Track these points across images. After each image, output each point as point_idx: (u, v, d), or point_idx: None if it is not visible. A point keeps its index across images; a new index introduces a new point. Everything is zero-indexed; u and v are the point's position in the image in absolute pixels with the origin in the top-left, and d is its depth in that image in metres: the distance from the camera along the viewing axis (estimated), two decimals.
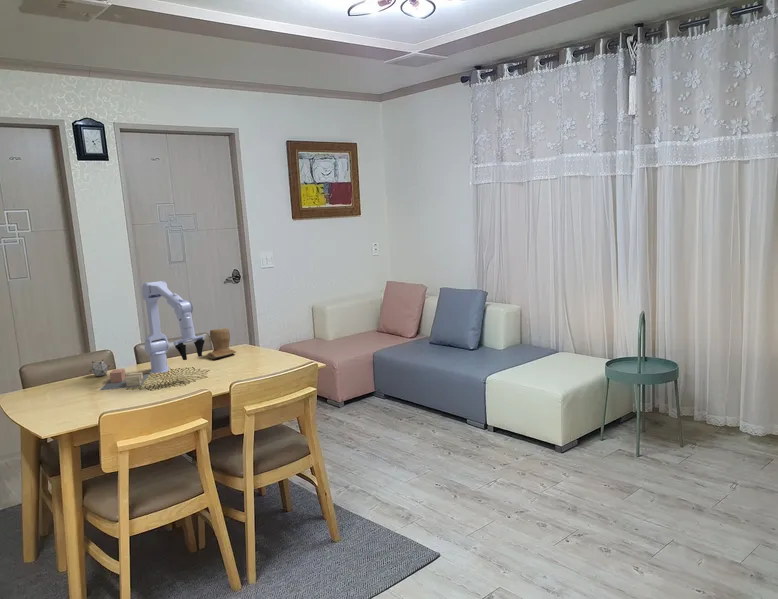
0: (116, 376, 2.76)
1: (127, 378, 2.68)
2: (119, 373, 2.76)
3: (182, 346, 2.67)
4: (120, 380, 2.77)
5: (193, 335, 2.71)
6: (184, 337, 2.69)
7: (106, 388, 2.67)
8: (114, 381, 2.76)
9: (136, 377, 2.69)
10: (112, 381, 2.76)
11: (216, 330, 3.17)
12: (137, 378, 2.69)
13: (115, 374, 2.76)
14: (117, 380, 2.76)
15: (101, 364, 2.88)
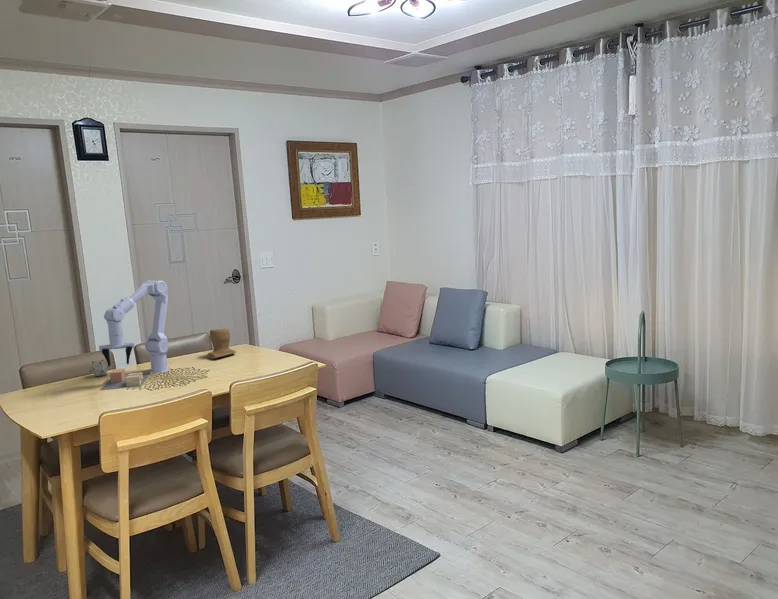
0: (116, 376, 2.76)
1: (127, 378, 2.68)
2: (119, 373, 2.76)
3: (103, 353, 2.70)
4: (120, 380, 2.77)
5: (117, 343, 2.71)
6: (110, 344, 2.72)
7: (106, 388, 2.67)
8: (114, 381, 2.76)
9: (136, 377, 2.69)
10: (112, 381, 2.76)
11: (216, 330, 3.17)
12: (137, 378, 2.69)
13: (115, 374, 2.76)
14: (117, 380, 2.76)
15: (101, 364, 2.88)
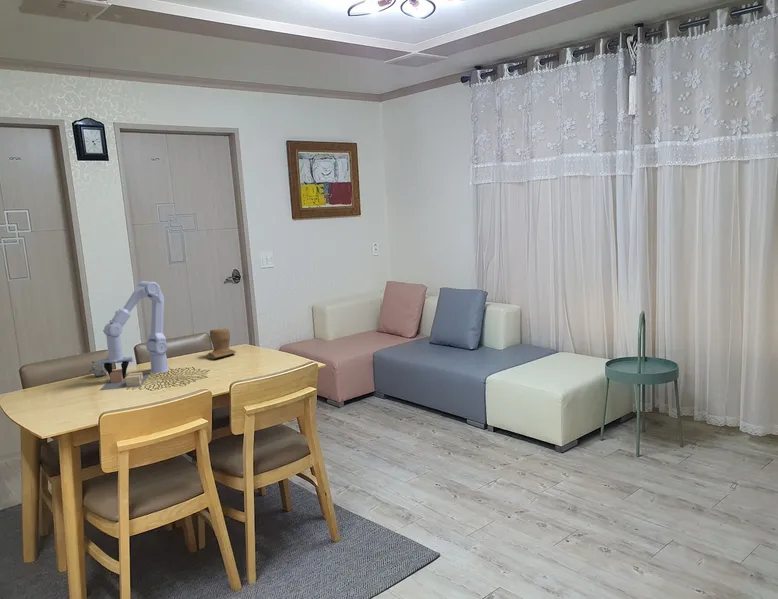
0: (116, 376, 2.76)
1: (127, 378, 2.68)
2: (119, 373, 2.76)
3: (105, 367, 2.76)
4: (120, 380, 2.77)
5: (116, 358, 2.76)
6: (109, 358, 2.77)
7: (106, 388, 2.67)
8: (114, 381, 2.76)
9: (136, 377, 2.69)
10: (112, 381, 2.76)
11: (216, 330, 3.17)
12: (137, 378, 2.69)
13: (115, 374, 2.76)
14: (117, 380, 2.76)
15: None
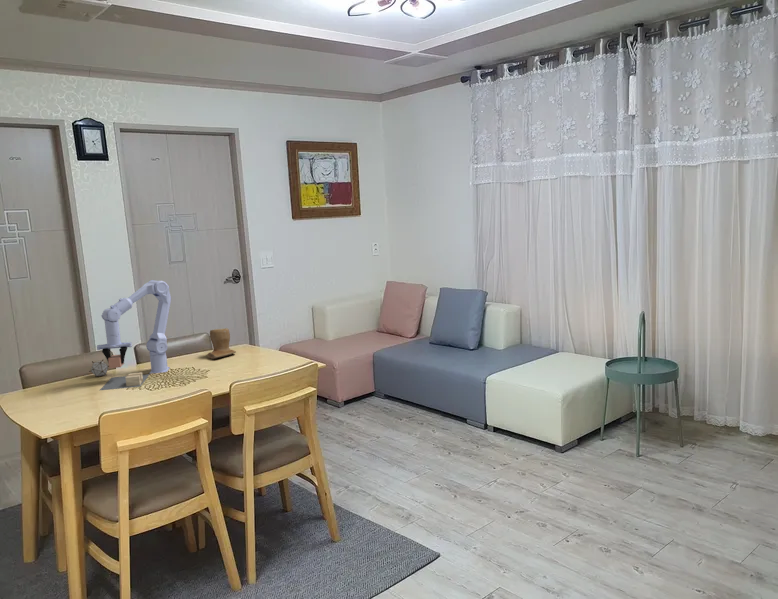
0: (114, 361, 2.75)
1: (127, 378, 2.68)
2: (117, 358, 2.75)
3: (103, 352, 2.75)
4: (118, 365, 2.76)
5: (114, 343, 2.75)
6: (107, 343, 2.76)
7: (106, 388, 2.67)
8: (112, 367, 2.75)
9: (136, 377, 2.69)
10: (110, 366, 2.75)
11: (216, 330, 3.17)
12: (137, 378, 2.69)
13: (113, 359, 2.75)
14: (115, 365, 2.75)
15: (101, 364, 2.88)
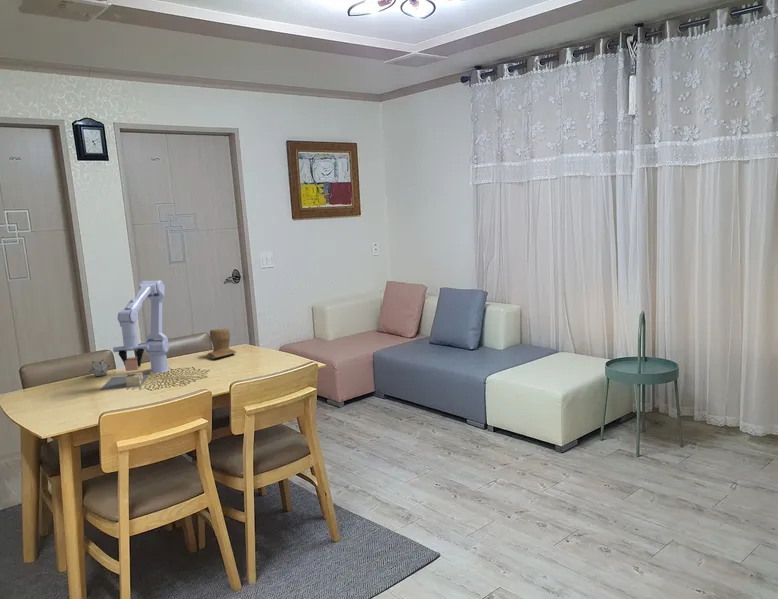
0: (131, 364, 2.68)
1: (127, 378, 2.68)
2: (134, 361, 2.68)
3: (120, 354, 2.67)
4: (135, 368, 2.68)
5: (131, 345, 2.68)
6: None
7: (106, 388, 2.67)
8: (129, 370, 2.68)
9: (136, 377, 2.69)
10: (127, 369, 2.68)
11: (216, 330, 3.17)
12: (137, 378, 2.69)
13: (130, 362, 2.68)
14: (132, 368, 2.68)
15: (101, 364, 2.88)
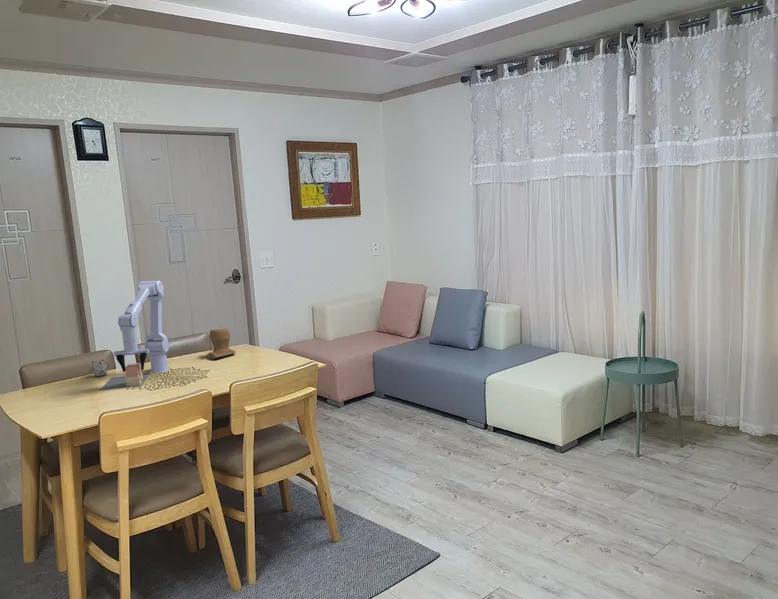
0: (132, 370, 2.68)
1: (127, 378, 2.68)
2: (135, 367, 2.68)
3: (117, 359, 2.68)
4: (136, 374, 2.69)
5: (131, 349, 2.68)
6: (124, 350, 2.69)
7: (106, 388, 2.67)
8: (129, 376, 2.68)
9: (136, 377, 2.69)
10: (128, 376, 2.68)
11: (216, 330, 3.17)
12: (137, 378, 2.69)
13: (131, 368, 2.68)
14: (132, 374, 2.69)
15: (101, 364, 2.88)
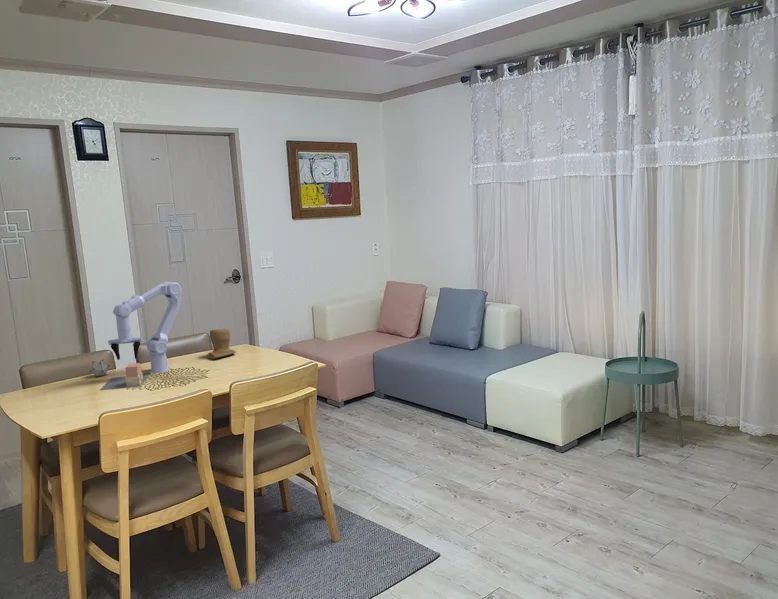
0: (132, 370, 2.68)
1: (127, 378, 2.68)
2: (135, 367, 2.68)
3: (112, 347, 2.79)
4: (136, 374, 2.69)
5: (125, 338, 2.79)
6: (118, 338, 2.80)
7: (106, 388, 2.67)
8: (129, 376, 2.68)
9: (136, 377, 2.69)
10: (128, 376, 2.68)
11: (216, 330, 3.17)
12: (137, 378, 2.69)
13: (131, 368, 2.68)
14: (132, 374, 2.69)
15: (101, 364, 2.88)
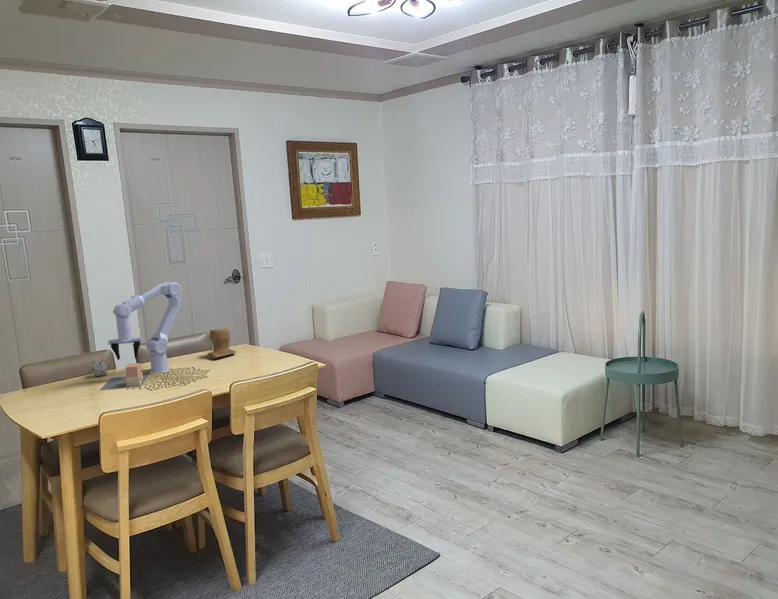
0: (132, 370, 2.68)
1: (127, 378, 2.68)
2: (135, 367, 2.68)
3: (112, 347, 2.79)
4: (136, 374, 2.69)
5: (125, 338, 2.79)
6: (118, 338, 2.80)
7: (106, 388, 2.67)
8: (129, 376, 2.68)
9: (136, 377, 2.69)
10: (128, 376, 2.68)
11: (216, 330, 3.17)
12: (137, 378, 2.69)
13: (131, 368, 2.68)
14: (132, 374, 2.69)
15: (101, 364, 2.88)
